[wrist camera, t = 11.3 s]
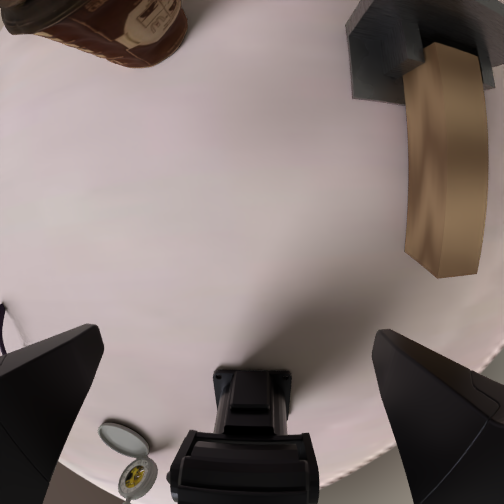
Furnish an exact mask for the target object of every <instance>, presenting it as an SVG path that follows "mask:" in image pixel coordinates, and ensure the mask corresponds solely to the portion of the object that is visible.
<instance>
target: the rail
mask: <svg viewBox="0 0 504 504" xmlns="http://www.w3.org/2000/svg"><path fill="white" fill-rule="evenodd" d="M423 53H424V59H425V63H424V64H422V65H420V66H418V67H417V68H415V69H413V70H411V71H410V72H408V73H406V74H404V75H403V84H404V93H405V103H406V115H407V130H408V159H409V183H408V212H407V228H406V241H405V251H404V252H406V253H407V254H408V255H409V256H411V257H412V258H413V259H414V260H416V261H417V262H418V263H419V264H421V265H422V266H423V267H424V268H425V269H427V270H428V271H429V272H430V273H431V274H433V275H434V276H435V277H436V278H446V277H455V276H464V275H472V274H477V271H478V266H479V260H480V255H481V248H482V242H483V235H484V227H485V218H486V207H487V193H488V129H487V116H486V106H485V97H484V89H483V83H482V76H481V71H480V65H479V60H478V56H475V55H472V54H470V53H467V52H464V51H461V50H458V49H455V48H452V47H449V46H446V45H443V44H439V43H436V42H434V43H433V44H431V45H429V46H427V47H425V48H424V49H423Z"/></svg>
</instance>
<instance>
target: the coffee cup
mask: <svg viewBox="0 0 504 504" xmlns="http://www.w3.org/2000/svg"><path fill="white" fill-rule="evenodd" d="M0 8H1V16H2V20H3V22H4V25H5V27H6V29H7V30H8V32H9V33H11V34H12V35H19V34H34V35H38V36H42V37H45V38H48V39H51V40H53V41H57V42H60V43H62V44H65V45H67V46H70V47H74V48H77V49H79V50H81V51H84V52H87V53H90V54H93V55H95V56H97V57H100V58H106V59H107V60H108V61H110V62H112V63H115V64H119V65H122V66H125V67H129V68H146V67H152V66H154V65H156V64H158V63H160V62H161V61H163V60H164V59H166V58H167V57H169V56H170V55H171V54H173V53H174V52H175V51H176V50H177V48H178V47H179V46H180V44H181V42H182V40H183V38H184V36H185V34H186V31H187V27H188V24H187V18H186V15H185V13H184V11H183V9H182V8H181V0H0Z"/></svg>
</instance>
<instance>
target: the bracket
mask: <svg viewBox="0 0 504 504" xmlns="http://www.w3.org/2000/svg"><path fill="white" fill-rule="evenodd" d="M345 26H346V33H347V42H348V51H349V61H350V73H351V86H352V99H361V100H369V101H377V102H383V103H390V104H396V105H402V106H406V103H405V93H404V84H403V75H404V74H406V73H408V72H410V71H411V70H413V69H415V68H417V67H418V66H420V65H422V64H424V63H425V59H424V53H423V49H424V48H425V47H427V46H429V45H431V44H433V43H434V42H436V43H439V44H443V45H446V46H449V47H452V48H455V49H458V50H461V51H464V52H467V53H470V54H472V55H475V56H478V60H479V65H480V71H481V76H482V83H483V89H484V90H488V89H492V88H495V84H494V78H493V72H492V67H495V66H498V65H502V64H504V4H503V3H501V2H499V1H498V0H361V1H360V2H359V4H358V6H357V7H356V9H355V10H354V12H353V14H352V15H351V17H350V18H349V20H348V22H347V23H346V25H345Z"/></svg>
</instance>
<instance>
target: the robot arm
mask: <svg viewBox="0 0 504 504" xmlns="http://www.w3.org/2000/svg"><path fill="white" fill-rule="evenodd" d="M103 352H104V344H103V341H102V337H101V334H100V330H99V328H98V326H97V325H94V324H84V325H82V326H79V327H76V328H74V329H71V330H69V331H66V332H63V333H61V334H58V335H56V336H53V337H50V338H48V339H45V340H42V341H40V342H37V343H35V344H32V345H29V346H27V347H24V348H21V349H19V350H16V351H13V352H11V353H8V354H7V355H6V354H5V355H3V356H0V504H43V500H44V497H45V495H46V492H47V489H48V486H49V482H50V480H51V477H52V475H53V472H54V470H55V467H56V465H57V462H58V460H59V457H60V455H61V452H62V450H63V447H64V445H65V442H66V440H67V438H68V435H69V433H70V431H71V428H72V426H73V424H74V422H75V419H76V417H77V415H78V413H79V411H80V408H81V406H82V404H83V402H84V400H85V398H86V396H87V394H88V391H89V389H90V387H91V385H92V382H93V379H94V377H95V374H96V371H97V368H98V366H99V363H100V360H101V358H102V355H103ZM372 360H373V364H374V369H375V373H376V377H377V381H378V386H379V390H380V394H381V398H382V401H383V404H384V407H385V410H386V413H387V416H388V419H389V422H390V425H391V428H392V431H393V434H394V437H395V440H396V443H397V446H398V449H399V453H400V456H401V459H402V462H403V466H404V469H405V472H406V476H407V480H408V483H409V487H410V490H411V494H412V498H413V502H414V504H504V385H503V384H500V383H498V382H495V381H493V380H491V379H489V378H487V377H485V376H483V375H480V374H478V373H476V372H475V371H473V370H472V371H470V369H468V368H466V367H464V366H462V365H460V364H458V363H456V362H454V361H452V360H450V359H448V358H446V357H444V356H442V355H440V354H438V353H436V352H434V351H432V350H431V349H429V348H427V347H425V346H423V345H421V344H419V343H417V342H415V341H413V340H411V339H409V338H407V337H405V336H403V335H401V334H399V333H397V332H395V331H393V330H391V329H382V330H378V331H377V333H376V336H375V341H374V345H373V350H372ZM217 375H221V376H217ZM284 376H287V377H284ZM291 380H292V376H291V373H290V372H289V371H240V370H216V371H214V374H213V381H214V389H215V397H216V404H217V416H216V422H215V427H214V432H213V433H204V432H197V431H195V430H189V432H188V434H187V437H185V439H184V441H183V443H182V445H181V447H180V449H179V451H178V453H177V455H176V457H175V459H174V461H173V463H172V465H171V467H170V471H169V472H168V473H167V477H166V479H167V481H168V482H169V484H170V488H171V495H172V498H173V500H174V501H175V502H178V504H317V503H318V498H319V471H318V465H317V461H316V457H315V453H314V450H313V446H312V442H311V438H310V435H309V433H302V434H299V435H287V420H288V413H289V403H290V392H291Z"/></svg>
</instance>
